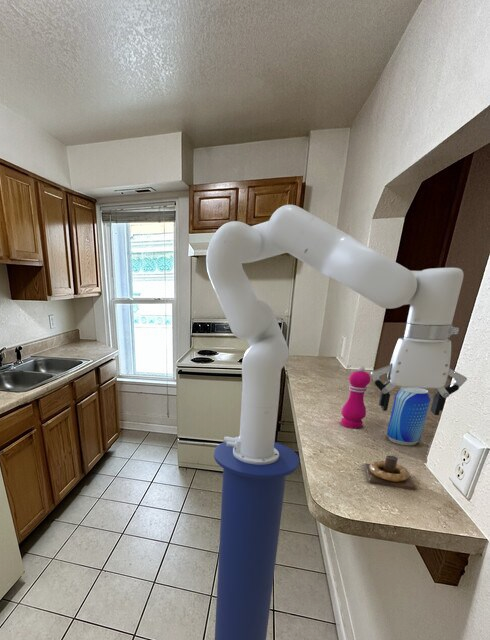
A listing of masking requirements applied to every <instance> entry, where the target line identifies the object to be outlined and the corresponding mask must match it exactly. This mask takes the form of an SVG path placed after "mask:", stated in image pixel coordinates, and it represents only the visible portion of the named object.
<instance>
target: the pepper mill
mask: <svg viewBox="0 0 490 640" xmlns="http://www.w3.org/2000/svg"><path fill="white" fill-rule="evenodd" d="M365 370H366V368H365V366H361V365H360V366H359V367H358V369H357V370H356V371H353V372H352V373H351V374H350V375H349V378H348V382H349V383H350V385H349V388H348V390H349V395H348V398H347V400H346V402H345V404H344V405H343V406H342V408H341V412H340V414H341V416H342V418H341V420H340V424H341V426H343V427H345V428H349V429H360V428H362V427H363V419H365V417H366V415H367V410H366V406H365V402H364V395H365V393H366V392H367V389H368V385H370V383H371V374H369V373H368V372H367V371H365Z"/></svg>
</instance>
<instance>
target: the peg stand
mask: <svg viewBox="0 0 490 640" xmlns="http://www.w3.org/2000/svg"><path fill="white" fill-rule="evenodd" d="M398 459H399V458H398V457H397V456H395V455H386V456H385V460H384V461H385V464H384V468H379V469H380V470H381V471H384V472H387V473H392V474H399V473H398V472H396V471H395V469H396V465H397V464H398ZM370 464H371V463H366V462H365V463H364V468H365V473H366V477H367V480H368V483H369V484H376V485H381V486H388V487H393V488H400V489H406V490H412V491H414V489H415V485H414V483H413V481H412V479H411V478H410V476H409V478H408V479H406V480H405V481H399V482H394V481H388V480H384V479H381V478H379V477H377V476H375V475H374V474H372V473H371V471H370V468H369V466H370Z"/></svg>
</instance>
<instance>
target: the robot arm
mask: <svg viewBox="0 0 490 640" xmlns="http://www.w3.org/2000/svg"><path fill="white" fill-rule="evenodd" d="M283 254H289V255H290V256H292V257H294V258H296V259H297V260H299V261H300V262H302V263H304V264H305V265H307V266H309V267H310V268H312V269H314V271H316V272H319V273H320V274H322V275H323V276H325V277H328V278H330V279H333V280H335V281H337V282H339V283H340V284H342V285H344V286H346V287H347V288H348V289H350V290H352V291H354V292H355V293H357V294H359V295H360V296H362V297H364V298H365V299H367V300H369V301H370V302H372V303H374V305H377V306H379V307H380V308H383V309H391V310H392V309H397V308H400V307H402V306H406V305H409V310H408V315H407V319H406V324H405V329H404V334H403V337H399V338H398V340H397V342H396V344H395V347H394V350H393V353H392V355H391V359H390V362H389V364H387V365H386V366H383V367H380V368H377V369H374V370H372V371H370V377H371V378H372V381H373V383H374V385H375V387H377V388H378V389H379V391H380V396H379V400H378V406H379V407H380V408H381V410H382V412H383V411H384V412H386V411H388V407H389V403H390V398H391V393H390V392H391V390H393V389H394V388H396V387H418V388H423V389H435V390H436V393H435V394H434V395H433V398H432V403H431V407H430V412H431V413H432V414H433V415H434V416H440V412H443V410H444V406H445V403H446V399H448V398H449V397H450V395H452V394H454V393H456V392H457V391H458V390H459V389H460V388H461V387H462V385H464V383H465V382H466V381H468V378H467V376H464V375H463V374H461V373H459V372H457V371H456V370H454V369H452V368H451V367H450V366H451V358H452V340H450V338H451V336H453V335H458V334H459V332H460V327H455V326H454V325H453V320H454V316H455V312H456V308H457V305H458V300H459V297H460V292H461V288H462V285H463V281H464V276H465V275H464V271H463V269H461V268H459V267H435V268H432V267H431V268H426V269H425V268H424V269H422V270H410V269H408V268H407V267H405V266H403V265H401V264H400V263H398V262H396V261H394V260H393V259H391V258H390V257H388V256H386V255H384V254H382V253H380V252H378V251H377V250H375V249H373V248H372V247H369V246H367V245H365V244H364V243H362V242H361V241H359V240H358V239H356V238H355V237H353V236H352V235H350V234H348V233H347V232H344V231H343V230H341V229H339V228H337V227H335V226H334V225H332V224H330V223H329V222H326V221H325V220H323V219H322V218H320V217H318V216H316V215H315V214H313V213H311V212H309V211H308V210H305V209H304V208H302V207H300V206H298V205H295V204H284V205H282V206H280V207H278V208H277V209H276V210H275V211H274V212H273V213H272V214H271V216H270V218H269V220H267V221H264V222H260V223H257V224H255V225H249V224H247V223H245V222H243V221H239V220H232V221H228V222H226V223H224V224H222V225H220V227H218V229H217V230H216V231H215V233H214V234H213V235H212V237H211V239H210V240H209V244H208V247H207V251H206V256H205V262H206V263H205V264H206V265H205V266H206V272H207V275H208V278H209V281H210V283H211V285H212V288H213V290H214V292H215V294H216V297H217V300H218V302H219V304H220V307H221V310H222V311H223V314H224V316H225V319H226V321H227V324H228V327H229V328H230V331H231V333H232V334H233V335H234V337H236V338H237V339H240V340H243V341H246V342H247V344H248V346H249V347H248V349H246V351H245V353H244V355H243V358H242V362H241V378H242V379H241V380H242V384H241V385H242V388H241V406H240V407H241V408H240V421H239V423H240V424H239V436H235V437H231V436H224V437H223V442H224V443H226V446H232V447H234V448H233V455H234V456H235V457H236V458H237V459H238V460H240V461H242V462H245V463H249V464H254V465H267V464H271V463H274V462H276V461H277V460H278V458H279V452H278V451H277V450H276V449H275V448H274V442H276V431H277V422H278V413H279V402H280V389H281V374H282V369H283V368H284V367H285V366H286V364H287V362H288V360H289V357H290V352H289V351H290V350H289V346H288V344H287V341H286V339H285V336H284V334H283V332H282V329H281V327H280V325H279V322H278V320H277V317H276V314H275V312H274V311H273V309H272V308H271V306H270V305H269V304H267V302H265V301H263V300H260V299H258V298H257V296H256V294H255V292H254V289H253V287H252V284H251V281H250V279H249V277H248V276H247V273H246V272H245V269H244V267H243V264H251V263H254V262H258V261H262V260H265V259H269V258H272V257H276V256H279V255H280V256H281V255H283ZM454 372H455V373H454ZM385 374H387V375H386V378H387V381H385V382H384V383H383V382H382V381H381V378H380V377H381V376H382V375H385ZM448 377H451V378H453V379H454V380H453V381H452V383H450V384H448V385H447V386H445V385H446V384H447V381H448Z"/></svg>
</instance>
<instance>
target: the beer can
mask: <svg viewBox="0 0 490 640" xmlns="http://www.w3.org/2000/svg"><path fill="white" fill-rule="evenodd" d="M430 403H431V397H430V395H429V390H428V389H427V388H418V387H403V386H400V390H399V391H398V392H396V393H395V395H394V400H393V404H392V408H391V414H390V418H389V421H388V426H387V431H386V436H387V438H388V441H390V442H392V443H395V444H396V445H401V446H415V445H416V444H417V443H418V442H420V440H421V437H422V434H423V430H424V426H425V422H426V418H427V415H428V411H429V408H430V407H429V406H430Z"/></svg>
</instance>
